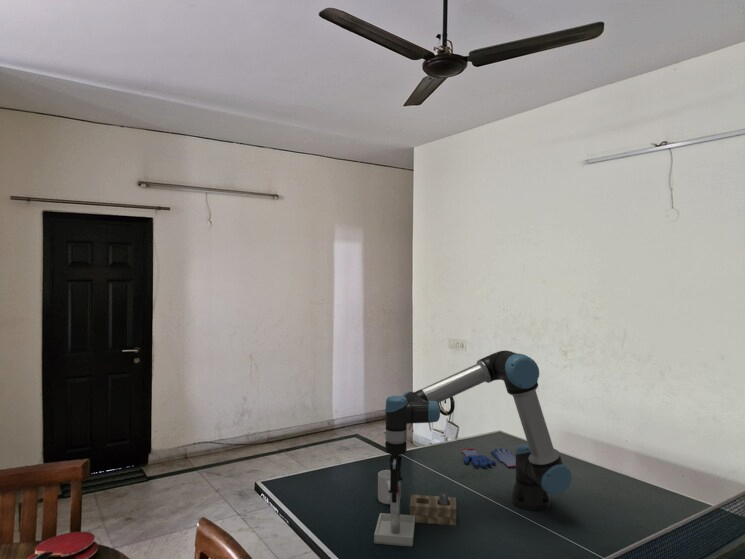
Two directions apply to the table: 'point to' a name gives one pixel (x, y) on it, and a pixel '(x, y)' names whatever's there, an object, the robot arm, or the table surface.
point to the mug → (384, 486)
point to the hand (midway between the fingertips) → (395, 504)
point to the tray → (402, 538)
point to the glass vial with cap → (395, 517)
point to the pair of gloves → (484, 461)
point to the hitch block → (433, 510)
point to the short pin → (443, 498)
